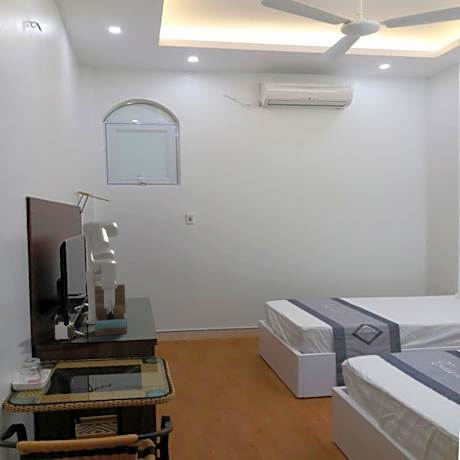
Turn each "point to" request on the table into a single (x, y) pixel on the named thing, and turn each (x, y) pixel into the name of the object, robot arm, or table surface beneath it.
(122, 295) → the striped wooden block
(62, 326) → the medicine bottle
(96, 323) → the panel
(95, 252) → the robot arm
